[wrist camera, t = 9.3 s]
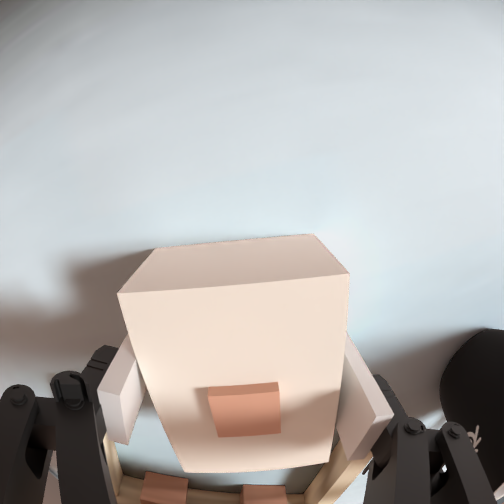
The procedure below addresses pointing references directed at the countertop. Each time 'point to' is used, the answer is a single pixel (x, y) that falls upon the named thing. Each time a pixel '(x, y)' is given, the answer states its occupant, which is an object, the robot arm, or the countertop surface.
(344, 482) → the shelf
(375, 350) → the countertop surface
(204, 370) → the cream white block
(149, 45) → the countertop surface
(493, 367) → the mug
